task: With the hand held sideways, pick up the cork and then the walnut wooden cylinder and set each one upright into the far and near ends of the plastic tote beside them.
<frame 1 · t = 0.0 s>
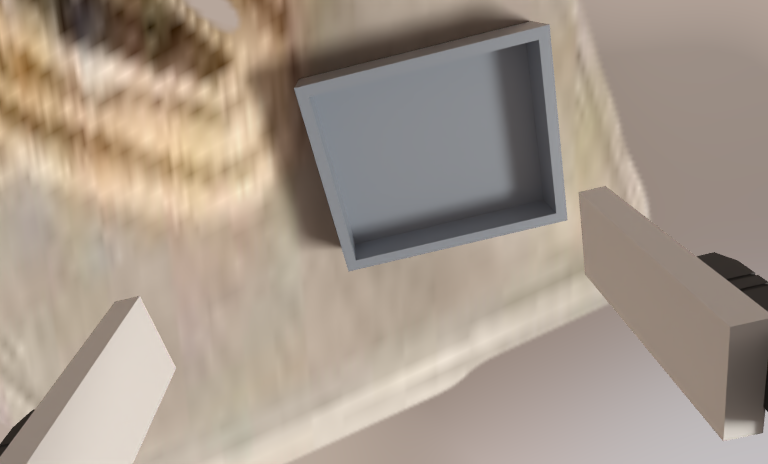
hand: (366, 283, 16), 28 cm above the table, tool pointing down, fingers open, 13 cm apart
tote: (432, 144, 43), on the table
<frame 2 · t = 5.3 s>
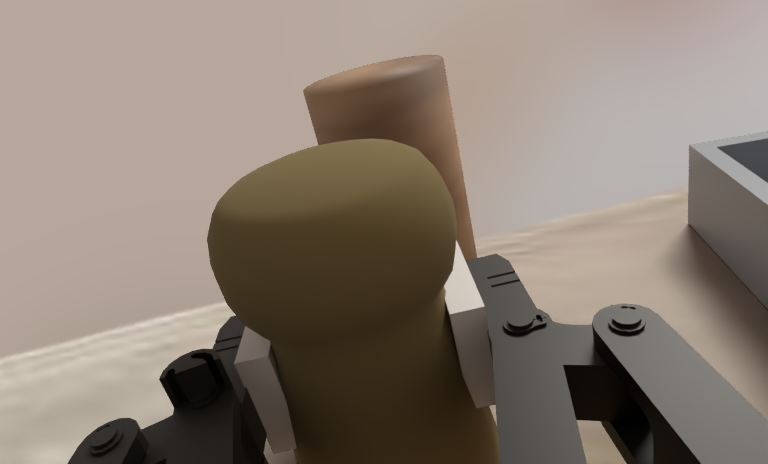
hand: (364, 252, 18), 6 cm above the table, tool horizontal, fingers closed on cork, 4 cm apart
walnut cylinder: (430, 326, 23), on the table
when the fingers open (9 cm above the table, at t = 10.1 s): cork drops 1 cm, resting on tote.
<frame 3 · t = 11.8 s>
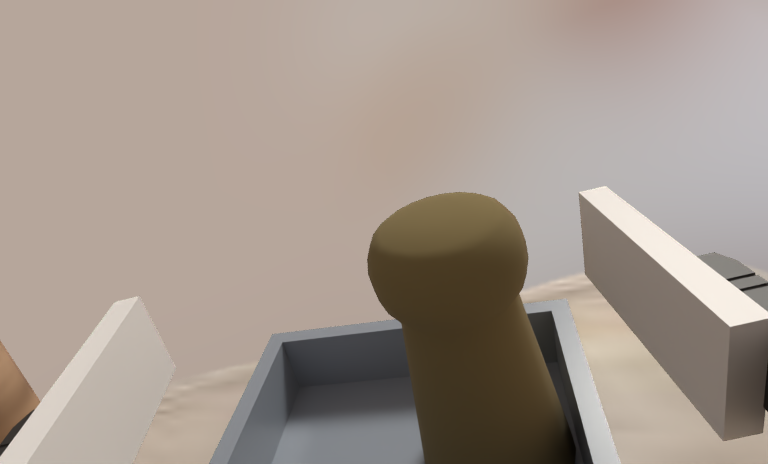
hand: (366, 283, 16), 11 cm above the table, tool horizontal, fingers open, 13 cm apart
cork: (498, 452, 22), point 1 cm above the table, touching tote
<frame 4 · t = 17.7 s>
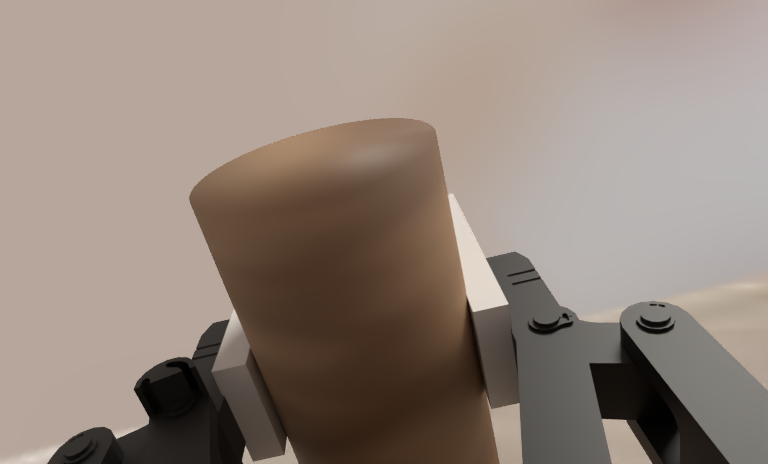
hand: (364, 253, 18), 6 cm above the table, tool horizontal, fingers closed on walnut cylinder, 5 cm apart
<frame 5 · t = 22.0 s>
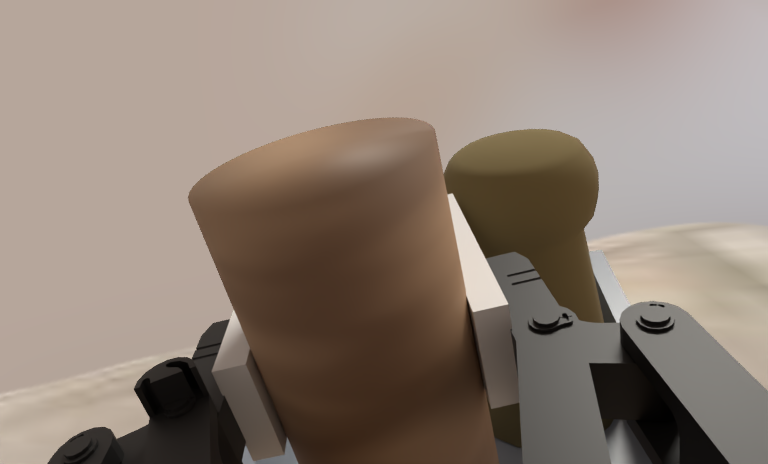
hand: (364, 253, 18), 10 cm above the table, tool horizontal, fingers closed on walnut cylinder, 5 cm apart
cork: (541, 395, 22), point 1 cm above the table, touching gripper, tote
when the fingers open (9 cm above the table, at t = 22.5 s): walnut cylinder drops 2 cm, resting on tote.
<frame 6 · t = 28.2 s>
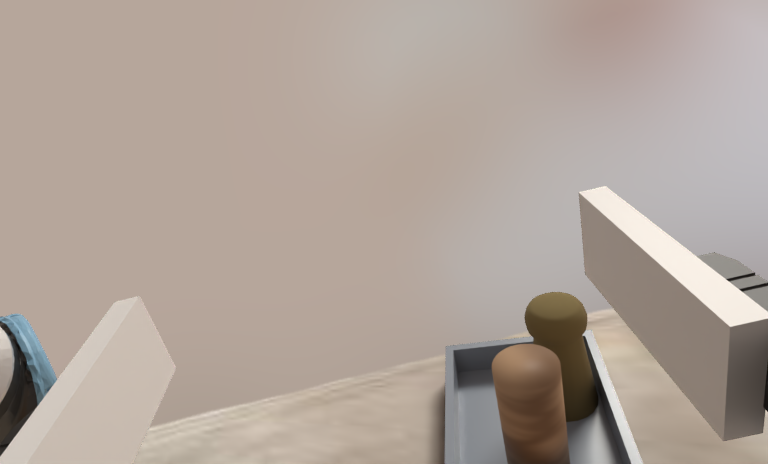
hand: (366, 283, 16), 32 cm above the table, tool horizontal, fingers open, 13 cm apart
tote: (532, 433, 49), on the table
cork: (564, 399, 51), point 1 cm above the table, touching tote
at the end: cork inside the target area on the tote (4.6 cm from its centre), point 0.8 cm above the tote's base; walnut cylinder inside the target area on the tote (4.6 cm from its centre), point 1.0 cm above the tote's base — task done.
